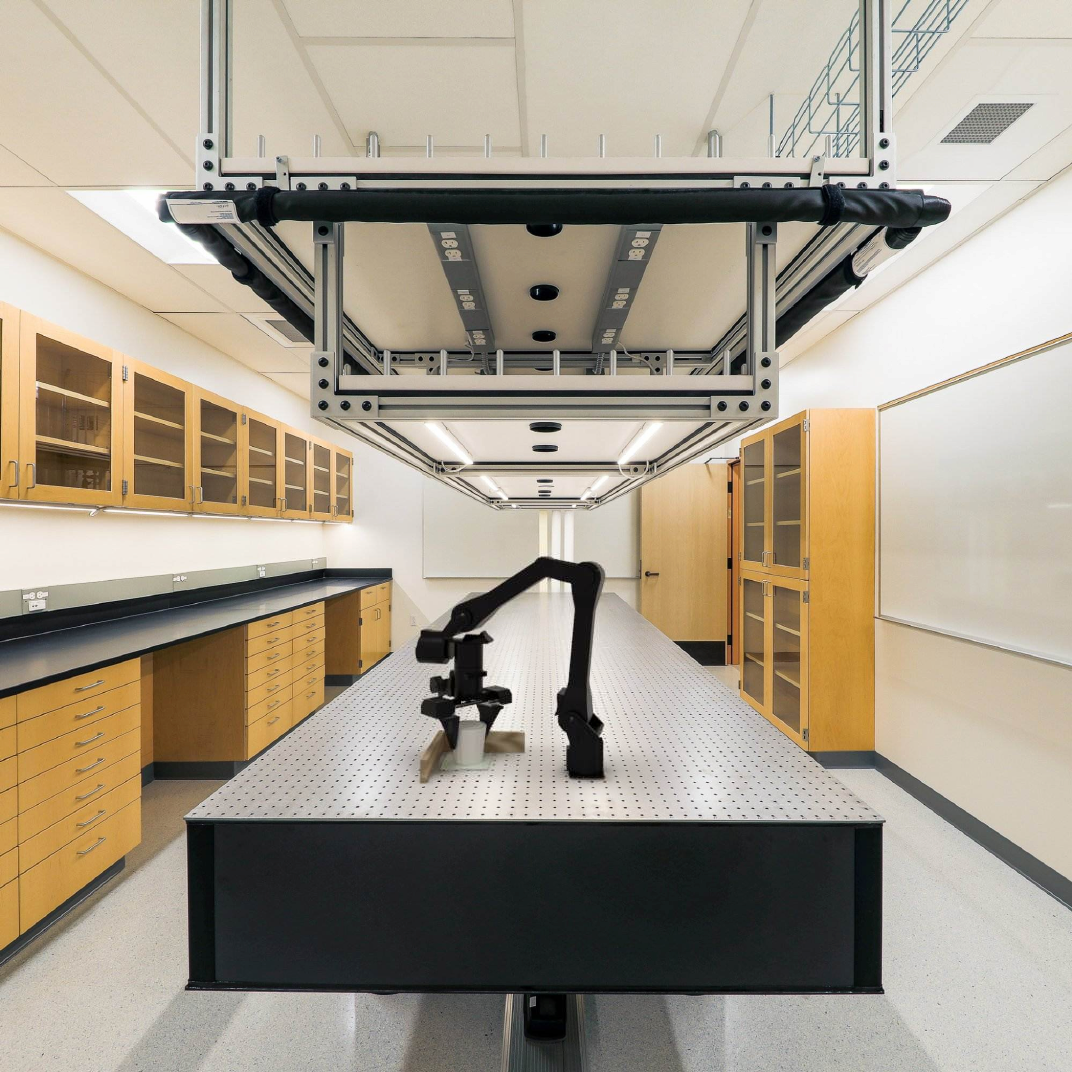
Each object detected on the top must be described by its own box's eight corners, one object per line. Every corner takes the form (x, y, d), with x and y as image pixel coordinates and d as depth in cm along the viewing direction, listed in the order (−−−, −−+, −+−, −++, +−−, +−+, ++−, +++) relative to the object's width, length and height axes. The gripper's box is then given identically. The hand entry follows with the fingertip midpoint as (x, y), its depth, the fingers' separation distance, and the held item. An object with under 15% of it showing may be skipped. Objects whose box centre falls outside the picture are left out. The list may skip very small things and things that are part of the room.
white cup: (468, 751, 122) (469, 717, 122) (492, 759, 117) (493, 724, 118) (442, 760, 116) (444, 724, 117) (467, 769, 112) (468, 731, 112)
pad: (492, 754, 121) (492, 753, 121) (487, 770, 112) (487, 768, 112) (448, 753, 121) (448, 752, 122) (440, 769, 112) (440, 768, 113)
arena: (524, 750, 124) (524, 731, 124) (520, 784, 106) (520, 761, 106) (438, 749, 124) (439, 730, 124) (419, 782, 106) (420, 760, 106)
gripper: (480, 655, 130) (479, 727, 129) (405, 665, 117) (404, 745, 116) (514, 661, 122) (513, 738, 121) (438, 674, 109) (437, 760, 108)
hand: (467, 745), depth 117 cm, fingers open, 7 cm apart
